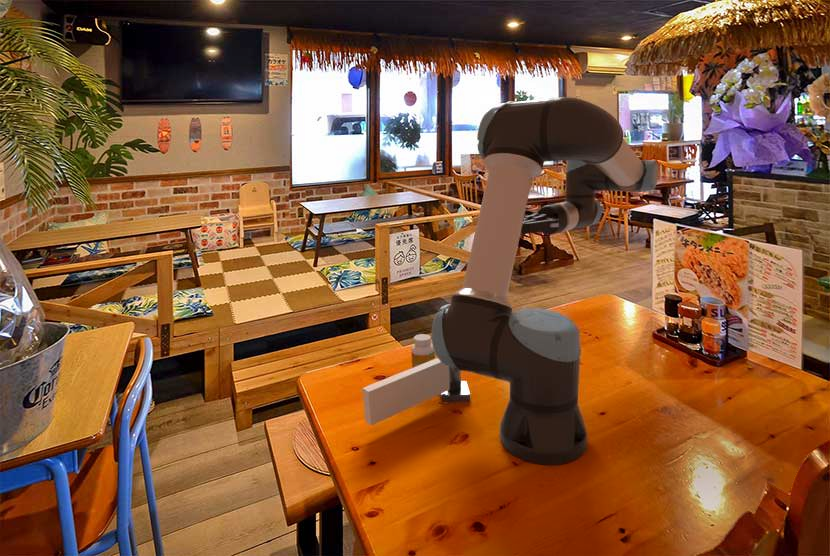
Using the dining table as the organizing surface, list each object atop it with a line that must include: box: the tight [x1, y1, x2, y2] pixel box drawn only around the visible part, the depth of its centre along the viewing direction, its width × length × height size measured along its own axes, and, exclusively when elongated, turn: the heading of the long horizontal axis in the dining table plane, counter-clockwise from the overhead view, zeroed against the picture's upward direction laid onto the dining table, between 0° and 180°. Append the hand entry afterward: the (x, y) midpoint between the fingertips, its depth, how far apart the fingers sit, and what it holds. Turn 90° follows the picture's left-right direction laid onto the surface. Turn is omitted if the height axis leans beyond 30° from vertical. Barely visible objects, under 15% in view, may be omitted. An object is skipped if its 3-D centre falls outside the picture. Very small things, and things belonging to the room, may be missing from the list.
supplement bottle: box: [410, 333, 436, 368], centre depth 115 cm, size 5×5×10 cm
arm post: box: [439, 366, 471, 404], centre depth 105 cm, size 6×6×12 cm
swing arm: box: [361, 357, 450, 427], centre depth 98 cm, size 20×2×7 cm, turn 128°
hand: (491, 231), depth 115 cm, fingers closed
